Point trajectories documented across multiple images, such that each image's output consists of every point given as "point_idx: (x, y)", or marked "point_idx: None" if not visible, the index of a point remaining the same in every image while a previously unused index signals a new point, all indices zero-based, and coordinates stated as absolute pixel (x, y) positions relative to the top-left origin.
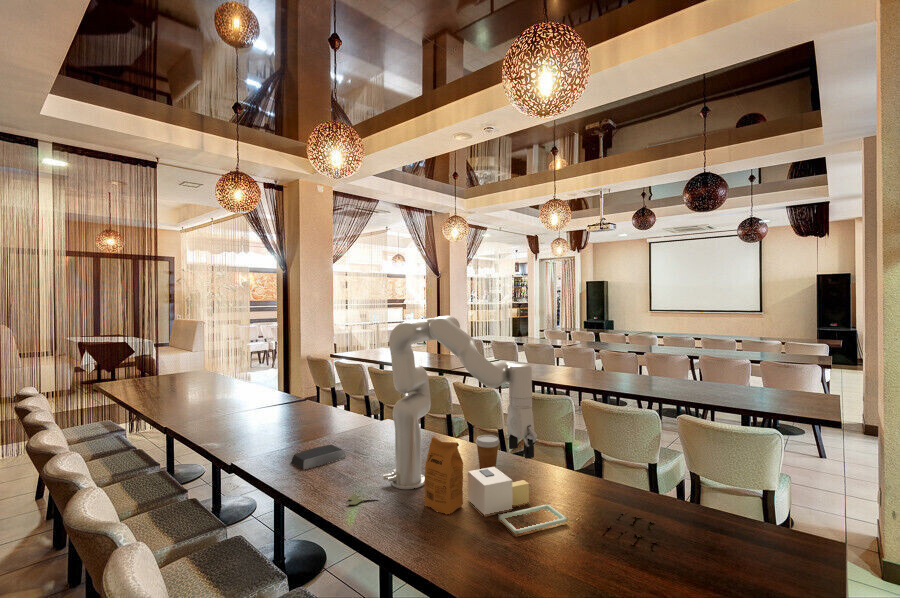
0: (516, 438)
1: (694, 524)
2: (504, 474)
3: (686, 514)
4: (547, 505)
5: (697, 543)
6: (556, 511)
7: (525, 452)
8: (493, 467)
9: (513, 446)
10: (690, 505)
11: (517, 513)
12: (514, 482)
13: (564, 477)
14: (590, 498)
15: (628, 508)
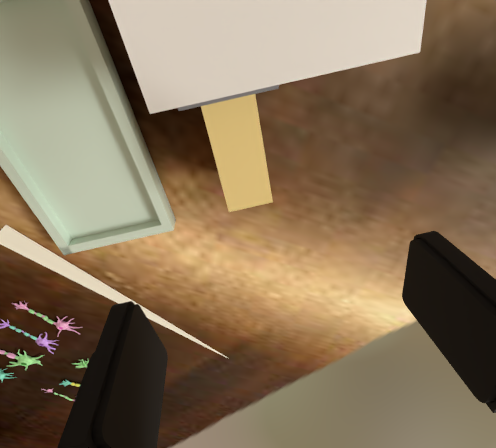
0: (473, 379)
1: None
2: (256, 86)
3: None
4: (161, 226)
5: (18, 419)
6: (114, 239)
7: (94, 359)
8: (409, 39)
9: (419, 280)
10: (168, 443)
11: (104, 88)
12: (255, 146)
13: (360, 317)
14: (226, 333)
15: (165, 377)
